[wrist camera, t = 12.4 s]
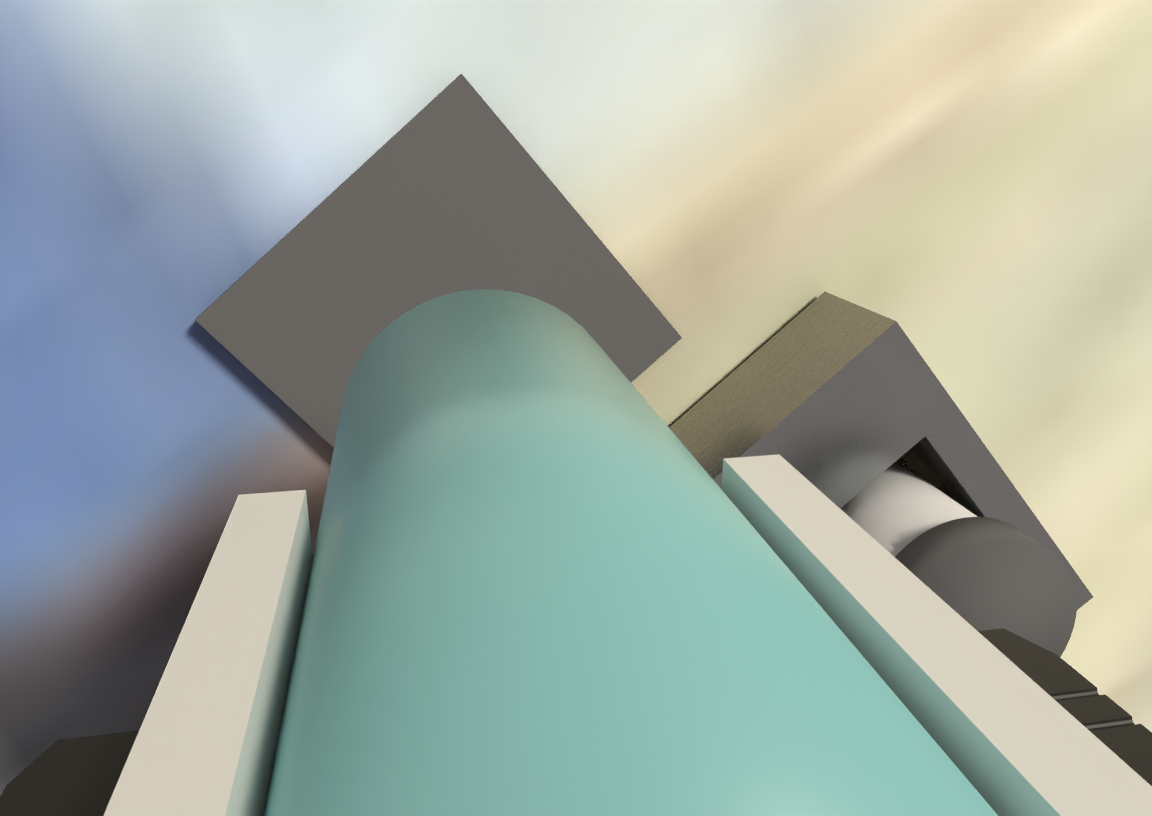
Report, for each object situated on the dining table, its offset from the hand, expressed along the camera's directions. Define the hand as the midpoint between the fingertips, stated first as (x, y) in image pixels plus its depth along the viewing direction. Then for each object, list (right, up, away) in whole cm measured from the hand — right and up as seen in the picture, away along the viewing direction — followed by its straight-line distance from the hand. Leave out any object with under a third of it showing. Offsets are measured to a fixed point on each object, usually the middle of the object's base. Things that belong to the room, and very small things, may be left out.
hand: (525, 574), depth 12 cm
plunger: (+9, -1, +16) cm, 19 cm away
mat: (-3, +4, +13) cm, 14 cm away
